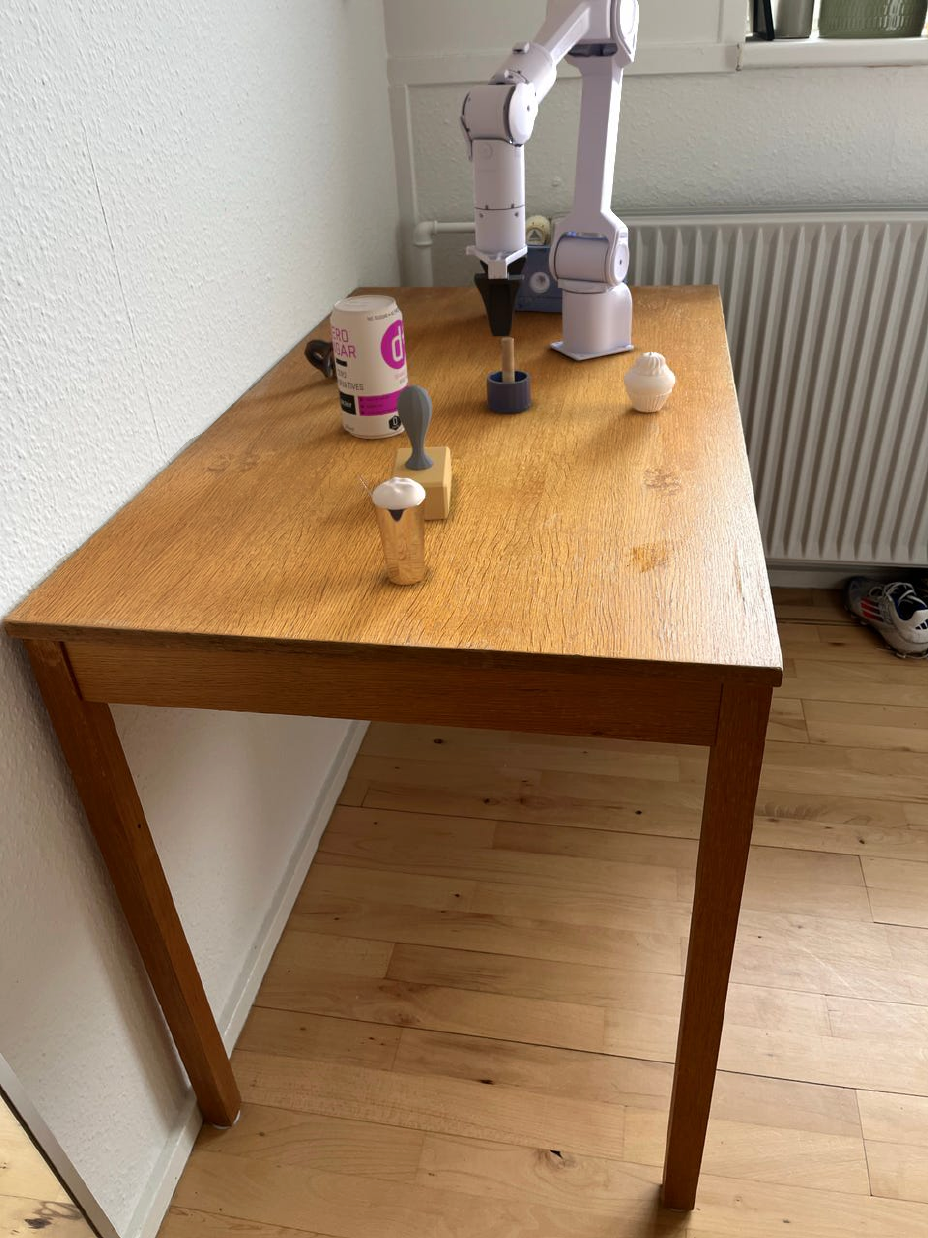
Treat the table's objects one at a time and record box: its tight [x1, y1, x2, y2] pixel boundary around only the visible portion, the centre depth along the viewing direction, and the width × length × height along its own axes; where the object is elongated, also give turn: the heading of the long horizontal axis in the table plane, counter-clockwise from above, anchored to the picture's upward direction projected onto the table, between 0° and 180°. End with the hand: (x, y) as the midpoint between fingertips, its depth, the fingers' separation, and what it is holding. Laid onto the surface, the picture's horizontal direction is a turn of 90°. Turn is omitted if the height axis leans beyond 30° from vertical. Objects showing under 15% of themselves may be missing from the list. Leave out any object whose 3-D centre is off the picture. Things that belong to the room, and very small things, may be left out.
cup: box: [485, 369, 532, 415], centre depth 119 cm, size 5×5×4 cm
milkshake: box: [359, 475, 426, 586], centre depth 83 cm, size 4×5×10 cm
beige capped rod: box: [500, 336, 515, 383], centre depth 118 cm, size 3×3×8 cm
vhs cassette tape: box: [514, 243, 628, 313], centre depth 153 cm, size 18×3×10 cm, turn 69°
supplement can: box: [329, 294, 409, 440], centre depth 112 cm, size 8×8×15 cm
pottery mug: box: [303, 338, 337, 379], centre depth 129 cm, size 12×10×8 cm
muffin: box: [623, 351, 676, 414], centre depth 115 cm, size 6×6×7 cm
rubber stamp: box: [389, 384, 453, 521], centre depth 96 cm, size 10×6×12 cm, turn 179°
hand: (502, 326), depth 115 cm, fingers open, 7 cm apart
